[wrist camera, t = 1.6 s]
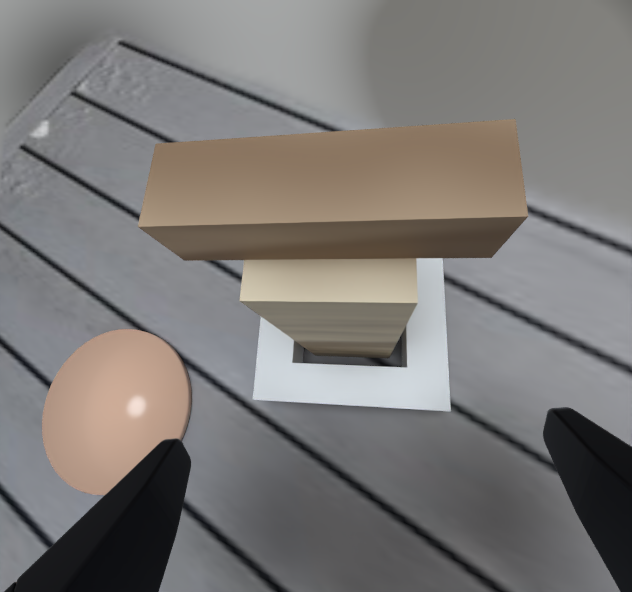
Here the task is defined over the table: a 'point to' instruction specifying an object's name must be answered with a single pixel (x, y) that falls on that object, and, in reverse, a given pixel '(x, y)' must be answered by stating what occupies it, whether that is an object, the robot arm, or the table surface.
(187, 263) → the table surface
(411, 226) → the wooden block tower
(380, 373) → the socket
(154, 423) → the peach flat disc
